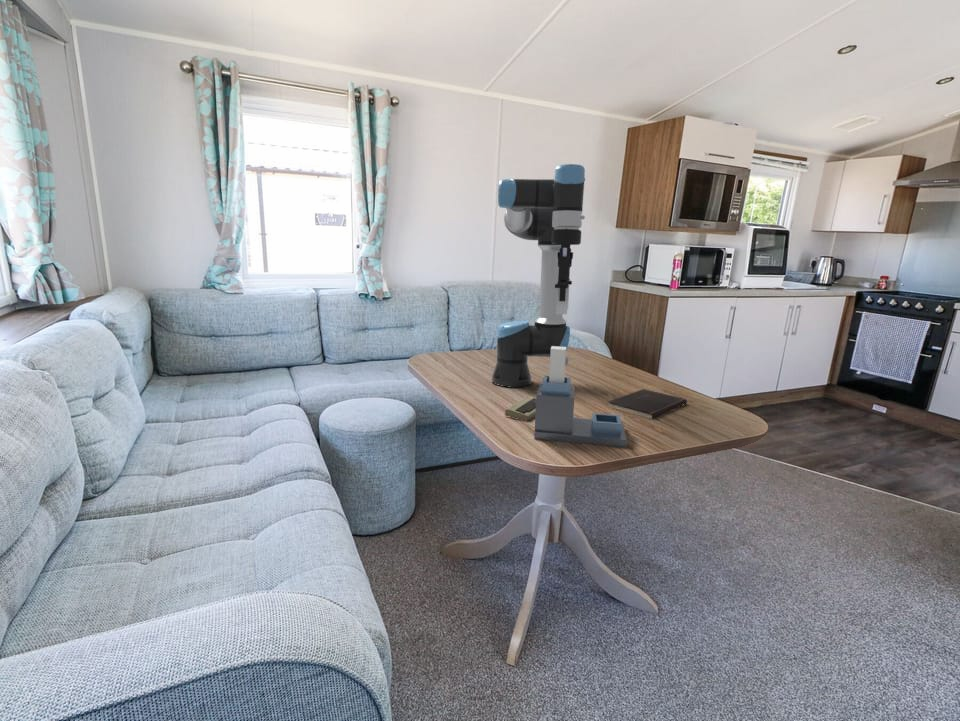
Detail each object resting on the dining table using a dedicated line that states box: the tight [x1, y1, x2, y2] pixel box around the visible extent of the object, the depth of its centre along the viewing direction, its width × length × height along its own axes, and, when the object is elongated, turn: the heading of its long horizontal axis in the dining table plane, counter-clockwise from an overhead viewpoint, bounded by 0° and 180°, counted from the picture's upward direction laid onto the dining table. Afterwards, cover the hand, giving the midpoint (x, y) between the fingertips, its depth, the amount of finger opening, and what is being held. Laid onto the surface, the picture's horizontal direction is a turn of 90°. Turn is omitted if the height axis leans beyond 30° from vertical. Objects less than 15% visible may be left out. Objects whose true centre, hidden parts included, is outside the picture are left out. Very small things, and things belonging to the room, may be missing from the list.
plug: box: [548, 346, 570, 383], centre depth 133 cm, size 5×4×12 cm
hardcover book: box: [607, 388, 688, 420], centre depth 161 cm, size 16×23×2 cm
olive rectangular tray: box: [504, 396, 536, 421], centre depth 153 cm, size 16×8×3 cm, turn 150°
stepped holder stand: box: [533, 375, 628, 448], centre depth 134 cm, size 24×14×15 cm, turn 78°
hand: (562, 311), depth 130 cm, fingers open, 13 cm apart
